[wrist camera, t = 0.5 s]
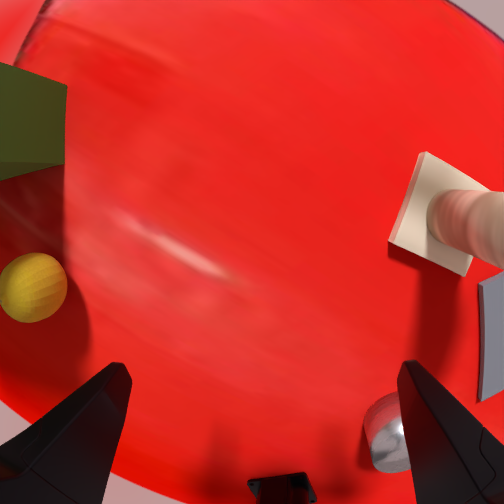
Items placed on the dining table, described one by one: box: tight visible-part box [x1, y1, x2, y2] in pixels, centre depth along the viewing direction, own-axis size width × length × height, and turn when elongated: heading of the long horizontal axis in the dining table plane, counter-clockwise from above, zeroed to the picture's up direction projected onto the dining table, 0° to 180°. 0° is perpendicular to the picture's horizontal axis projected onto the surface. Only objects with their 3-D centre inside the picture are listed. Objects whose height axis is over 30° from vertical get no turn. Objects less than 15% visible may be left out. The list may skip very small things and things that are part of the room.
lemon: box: [0, 253, 67, 323], centre depth 21 cm, size 6×6×8 cm
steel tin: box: [363, 392, 411, 473], centre depth 22 cm, size 6×6×5 cm
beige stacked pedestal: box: [388, 152, 504, 277], centre depth 14 cm, size 8×7×14 cm
